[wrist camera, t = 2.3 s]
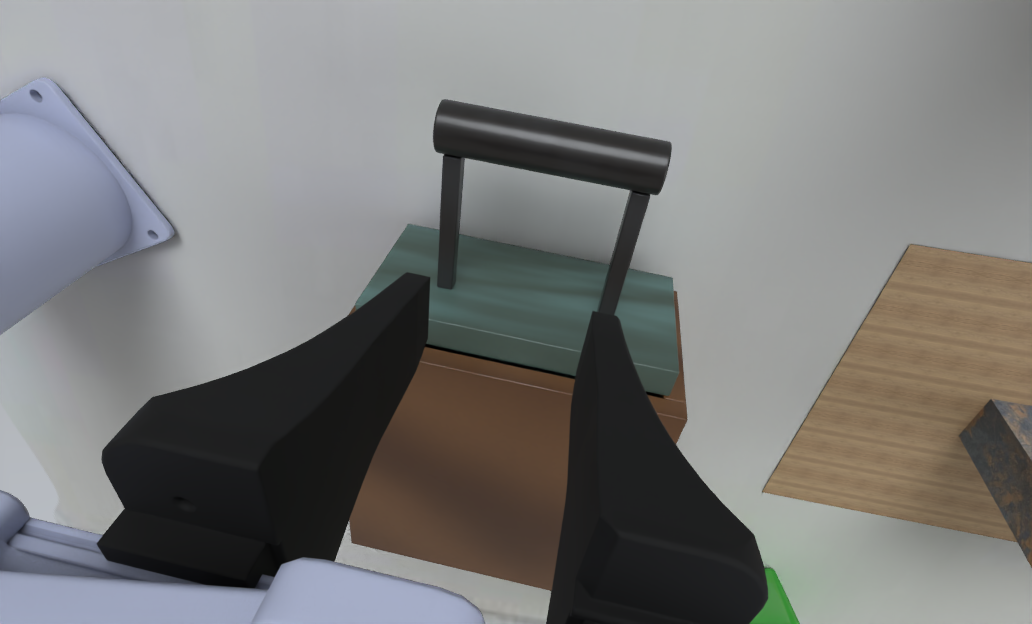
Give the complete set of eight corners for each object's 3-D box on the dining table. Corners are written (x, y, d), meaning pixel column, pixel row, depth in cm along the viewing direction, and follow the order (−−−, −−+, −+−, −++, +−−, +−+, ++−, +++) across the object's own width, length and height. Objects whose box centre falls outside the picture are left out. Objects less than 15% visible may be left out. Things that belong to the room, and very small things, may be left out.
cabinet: (401, 234, 26) (329, 342, 20) (677, 290, 25) (687, 420, 19) (401, 427, 34) (351, 543, 28) (607, 474, 34) (600, 603, 28)
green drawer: (409, 56, 20) (341, 109, 16) (732, 116, 20) (758, 190, 15) (406, 415, 32) (367, 504, 28) (605, 460, 32) (599, 559, 27)
